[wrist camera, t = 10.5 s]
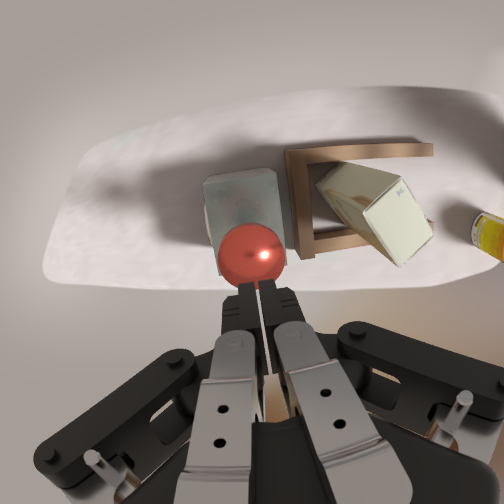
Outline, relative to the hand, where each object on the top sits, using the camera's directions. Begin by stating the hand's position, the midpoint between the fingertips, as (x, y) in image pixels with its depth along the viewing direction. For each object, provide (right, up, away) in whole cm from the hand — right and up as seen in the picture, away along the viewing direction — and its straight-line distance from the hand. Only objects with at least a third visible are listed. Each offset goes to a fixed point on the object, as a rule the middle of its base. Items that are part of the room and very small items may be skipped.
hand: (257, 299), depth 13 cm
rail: (+13, +9, +18) cm, 24 cm away
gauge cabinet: (-1, +7, +18) cm, 19 cm away
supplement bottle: (+34, +6, +21) cm, 40 cm away
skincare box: (+10, +9, +18) cm, 22 cm away
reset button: (-1, +3, +8) cm, 9 cm away
